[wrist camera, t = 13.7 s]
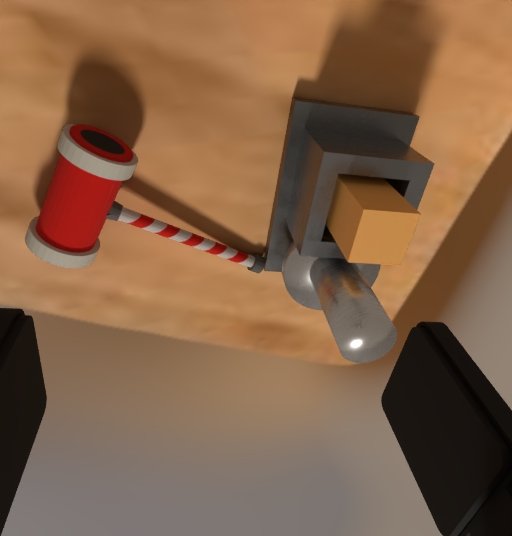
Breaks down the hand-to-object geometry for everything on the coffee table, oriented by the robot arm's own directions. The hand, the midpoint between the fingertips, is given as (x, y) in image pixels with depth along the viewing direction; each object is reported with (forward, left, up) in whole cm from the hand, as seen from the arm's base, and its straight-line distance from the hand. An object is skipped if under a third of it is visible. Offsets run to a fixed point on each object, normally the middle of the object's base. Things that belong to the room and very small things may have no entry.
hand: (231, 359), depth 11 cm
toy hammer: (+11, -5, -33) cm, 35 cm away
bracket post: (+10, +14, -32) cm, 37 cm away
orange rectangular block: (+6, +14, -31) cm, 34 cm away
